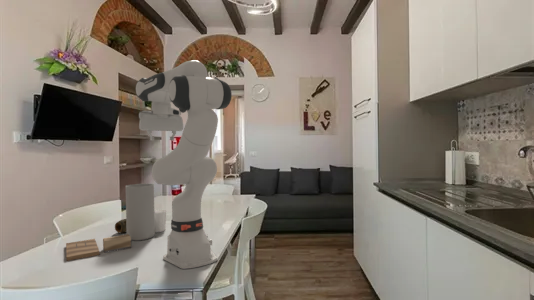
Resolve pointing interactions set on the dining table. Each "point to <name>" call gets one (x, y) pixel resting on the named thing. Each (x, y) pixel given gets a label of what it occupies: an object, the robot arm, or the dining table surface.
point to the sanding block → (116, 243)
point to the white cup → (160, 220)
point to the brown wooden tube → (121, 226)
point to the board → (81, 249)
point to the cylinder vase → (140, 211)
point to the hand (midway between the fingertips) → (162, 140)
